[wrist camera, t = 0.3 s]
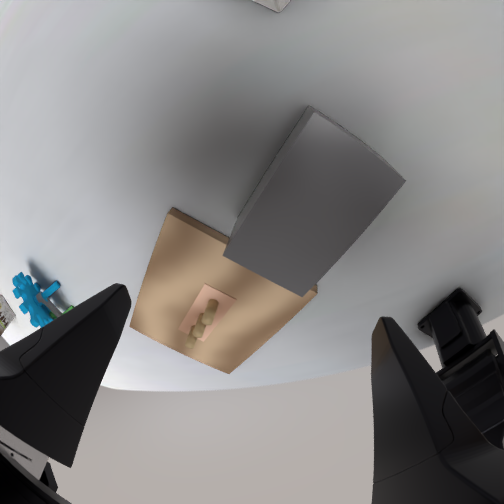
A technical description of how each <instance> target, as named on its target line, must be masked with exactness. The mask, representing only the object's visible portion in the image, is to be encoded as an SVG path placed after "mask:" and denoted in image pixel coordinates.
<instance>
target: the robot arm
mask: <svg viewBox="0 0 504 504" xmlns="http://www.w3.org/2000/svg"><path fill="white" fill-rule="evenodd" d="M130 308H131V299H130V296H129V293H128V290H127V287H126V286H125V285H123V284H118V283H115V284H113V285H111V286H110V287H108V288H106V289H104V290H103V291H101V292H99V293H98V294H96V295H94V296H93V297H91V298H89V299H87V300H86V301H84V302H82V303H81V304H79V305H77V306H76V307H74V308H72V309H71V310H69V311H68V312H66V313H64V314H63V315H61V316H59V317H58V318H56V319H55V320H53V321H51V322H50V323H48V324H46V325H45V326H44V327H42V328H40V329H39V330H37V331H35V332H34V333H32V334H30V335H29V336H27V337H25V338H24V339H22V340H20V341H18V342H16V343H15V344H13V345H11V346H9V347H7V348H5V349H4V350H2V351H0V504H71V503H70V502H68V501H67V500H65V499H64V498H62V497H61V496H60V495H58V494H57V493H56V491H57V488H58V486H57V483H56V481H55V478H54V475H53V472H52V469H51V465H50V463H49V462H47V460H48V458H49V457H50V458H52V459H54V460H56V461H57V462H60V463H61V464H63V465H65V466H67V467H70V468H71V466H72V464H73V461H74V457H75V454H76V451H77V447H78V444H79V441H80V438H81V435H82V432H83V430H84V426H85V423H86V420H87V418H88V415H89V412H90V410H91V407H92V404H93V402H94V399H95V396H96V394H97V391H98V389H99V386H100V384H101V381H102V379H103V377H104V374H105V372H106V369H107V367H108V365H109V362H110V360H111V358H112V355H113V353H114V351H115V349H116V346H117V344H118V342H119V339H120V337H121V334H122V331H123V328H124V325H125V322H126V319H127V316H128V314H129V311H130ZM481 312H482V310H481V308H480V307H479V305H478V304H477V303H476V302H475V301H474V300H473V299H472V298H471V297H470V296H469V295H468V294H467V293H466V292H465V291H464V290H463V289H461V288H459V289H457V290H456V291H455V292H454V293H453V294H452V295H451V296H450V297H449V298H447V299H446V300H445V301H444V302H443V303H442V304H441V305H440V306H438V307H437V308H436V309H435V310H434V311H433V312H432V313H430V314H429V315H428V316H427V317H426V318H424V319H423V320H422V321H421V322H420V323H419V324H418V329H419V330H421V331H422V332H424V333H426V334H427V335H429V336H431V337H432V338H433V339H434V342H435V345H436V348H437V352H438V355H439V358H440V362H441V365H442V369H441V370H439V371H438V372H436V373H435V371H434V370H433V369H432V367H431V366H430V365H429V364H428V362H427V361H426V360H425V358H424V357H423V355H422V354H421V353H420V352H419V350H418V349H417V348H416V346H415V345H414V344H413V343H412V341H411V340H410V339H409V338H408V336H407V335H406V334H405V333H404V331H403V330H402V329H401V328H400V326H399V325H398V324H397V323H396V322H395V320H394V319H393V318H392V317H380V318H379V320H378V322H377V324H376V327H375V329H374V331H373V333H372V363H371V382H372V397H373V414H374V416H373V417H374V477H373V483H374V484H373V494H372V504H504V342H503V341H502V339H501V338H500V336H499V335H498V334H497V332H496V331H495V330H493V331H491V332H490V334H489V335H488V336H486V334H485V332H484V329H483V327H482V325H481V323H480V321H479V319H478V317H477V316H478V315H479V314H480V313H481ZM497 354H498V355H497ZM496 355H497V356H496ZM495 356H496V357H495Z"/></svg>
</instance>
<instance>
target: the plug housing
mask: <svg viewBox="0 0 504 504" xmlns="http://www.w3.org/2000/svg"><path fill="white" fill-rule="evenodd" d="M405 181H406V180H405V179H404V178H403V177H402V176H401V175H400V174H399V173H398V172H397V171H396V170H395V169H394V168H393V167H392V166H391V165H390V164H388V163H387V162H386V161H385V160H384V159H383V158H382V157H381V156H380V155H379V154H377V153H376V152H375V151H374V150H372V149H371V148H370V147H368V146H367V145H366V144H365V143H363V142H362V141H361V140H359V139H358V138H357V137H355V136H354V135H352V134H351V133H350V132H348V131H347V130H345V129H344V128H343V127H341V126H340V125H338V124H337V123H335V122H334V121H332V120H331V119H329V118H328V117H326V116H325V115H323V114H322V113H320V112H319V111H317V110H316V109H314V108H312V107H311V106H308V108H307V109H306V111H305V112H304V114H303V115H302V117H301V118H300V120H299V121H298V123H297V125H296V126H295V128H294V129H293V131H292V132H291V134H290V135H289V137H288V138H287V140H286V141H285V143H284V145H283V146H282V148H281V149H280V151H279V152H278V154H277V156H276V157H275V159H274V160H273V162H272V163H271V165H270V167H269V168H268V170H267V171H266V173H265V174H264V176H263V178H262V179H261V181H260V182H259V184H258V186H257V187H256V189H255V191H254V192H253V194H252V195H251V197H250V199H249V200H248V202H247V203H246V205H245V207H244V208H243V210H242V212H241V213H240V215H239V217H238V218H237V221H236V223H235V226H234V228H233V230H232V233H231V235H230V238H229V240H228V243H227V245H226V248H225V250H224V253H223V255H222V256H224V257H226V258H228V259H230V260H231V261H233V262H235V263H237V264H239V265H241V266H243V267H245V268H247V269H248V270H250V271H252V272H254V273H256V274H258V275H260V276H262V277H264V278H266V279H268V280H270V281H271V282H273V283H275V284H277V285H279V286H281V287H283V288H285V289H287V290H289V291H291V292H293V293H295V294H297V295H299V296H300V297H303V296H304V295H305V294H306V293H307V292H308V291H309V290H310V289H311V288H312V287H313V286H314V285H315V284H316V283H317V282H318V281H319V280H320V279H321V278H322V277H323V276H324V275H325V274H326V273H327V271H328V270H329V269H330V268H331V267H332V266H333V265H334V264H335V263H336V262H337V261H338V260H339V259H340V257H341V256H342V255H343V254H344V253H345V252H346V251H347V250H348V249H349V248H350V246H351V245H352V244H353V243H354V242H355V241H356V240H357V239H358V238H359V236H360V235H361V234H362V233H363V232H364V231H365V230H366V228H367V227H368V226H369V225H370V224H371V223H372V221H373V220H374V219H375V218H376V217H377V216H378V214H379V213H380V212H381V211H382V210H383V208H384V207H385V206H386V205H387V204H388V202H389V201H390V200H391V199H392V198H393V196H394V195H395V194H396V193H397V191H398V190H399V189H400V188H401V186H402V185H403V184H404V183H405Z"/></svg>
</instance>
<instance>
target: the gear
mask: <svg viewBox="0 0 504 504" xmlns="http://www.w3.org/2000/svg"><path fill="white" fill-rule="evenodd" d="M13 285H14V286H15V287H16V288H15V289H14V290H13V293H14V295H15V297H16V298H17V299H18V298H19V297H20V296H21V297H22V298H23V301H24V302H23V303H22V304H21V305H20V306H19V308H20V309H21V311H22V312H23V313H24V314H26V313H27V312H28V311H29V313H30V316H31V319H30V322H31V324H32V325H33V326H34V327H36V328H37V327H38V326H39V325H40V327H41V328H42V327H44V326H45V325H46V324H48V323H50V322H51V321H53V320H55V319H56V318H58V317H59V316H61V315H63V314H64V313H66V312H68V311H69V310H71V309H72V308H74V307H73V306H71V307H70V308H68V309H67V310H66V311H65V312H63V313H61V312H60V311H59V310H58V309H57V307H56V306H55V305H54V304H53V303H52V302H51V301H50V300H49V299H48V297H49V296H50V295H51V294H52V293H54V292H55V291H56V290H57V289H58V288H60V285H59V283H58V282H57V281H56V282H54V283H53V284H52V285H51V286H50V287H48V288H47V289H46V290H45V291H44V292H40V290H41V288H40V286H39V285H38V284H37V283H35V284H34V285H33V282H32V279H31V277H30V276H29V275H26V276H25V277H24V274H23V273H22V272H20V273H19V274H18V275H16V276H15V277H14V278H13Z"/></svg>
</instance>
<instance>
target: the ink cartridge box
mask: <svg viewBox="0 0 504 504" xmlns="http://www.w3.org/2000/svg"><path fill="white" fill-rule="evenodd" d="M252 1H254V2H256V3H259V4H261V5H263V6H265V7H267V8H270V9H272V10H274V11H276V12H281V11H282V10H283V9H284V8H285V6H286V5H287V4H288V3H289V2H290V0H252Z"/></svg>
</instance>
